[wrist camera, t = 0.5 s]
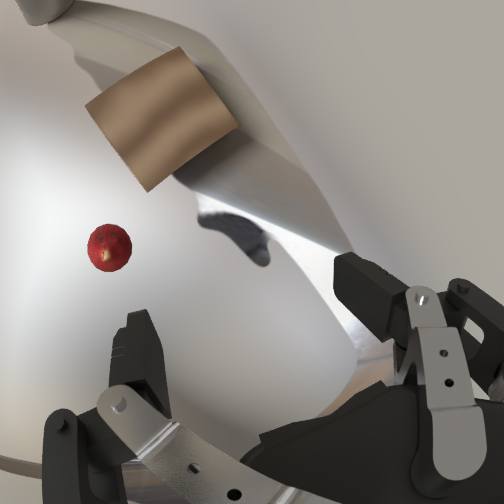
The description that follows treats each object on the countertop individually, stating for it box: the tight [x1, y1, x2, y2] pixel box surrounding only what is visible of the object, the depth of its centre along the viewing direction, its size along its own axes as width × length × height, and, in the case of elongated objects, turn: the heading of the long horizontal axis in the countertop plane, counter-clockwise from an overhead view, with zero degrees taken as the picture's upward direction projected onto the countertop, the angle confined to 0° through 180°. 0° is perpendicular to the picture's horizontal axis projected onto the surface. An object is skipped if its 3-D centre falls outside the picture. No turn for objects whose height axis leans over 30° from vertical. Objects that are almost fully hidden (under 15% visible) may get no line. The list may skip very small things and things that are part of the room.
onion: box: [88, 224, 132, 272], centre depth 30 cm, size 6×6×8 cm
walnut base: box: [85, 46, 239, 193], centre depth 30 cm, size 14×14×5 cm
